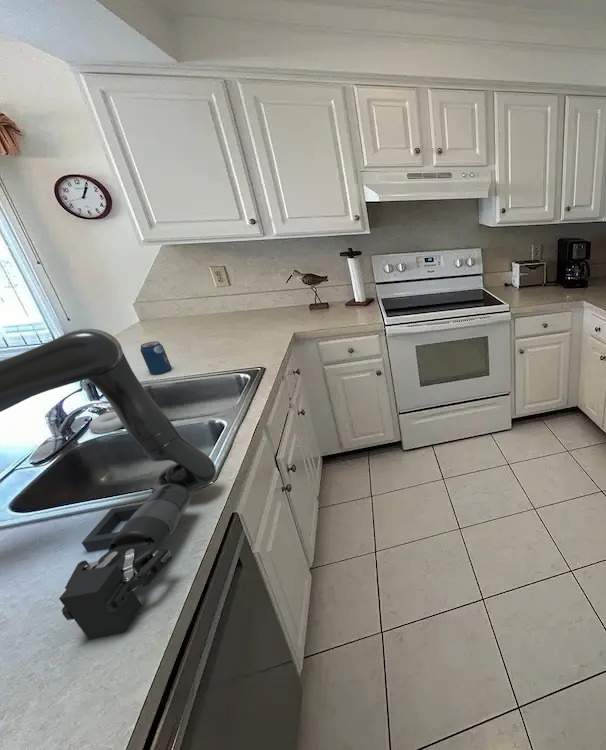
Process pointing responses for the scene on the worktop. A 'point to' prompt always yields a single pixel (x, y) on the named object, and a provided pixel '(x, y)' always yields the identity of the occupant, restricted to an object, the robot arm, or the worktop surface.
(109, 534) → the dark square frame
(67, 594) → the dark matte cube
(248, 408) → the worktop surface
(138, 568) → the robot arm
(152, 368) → the soda can
